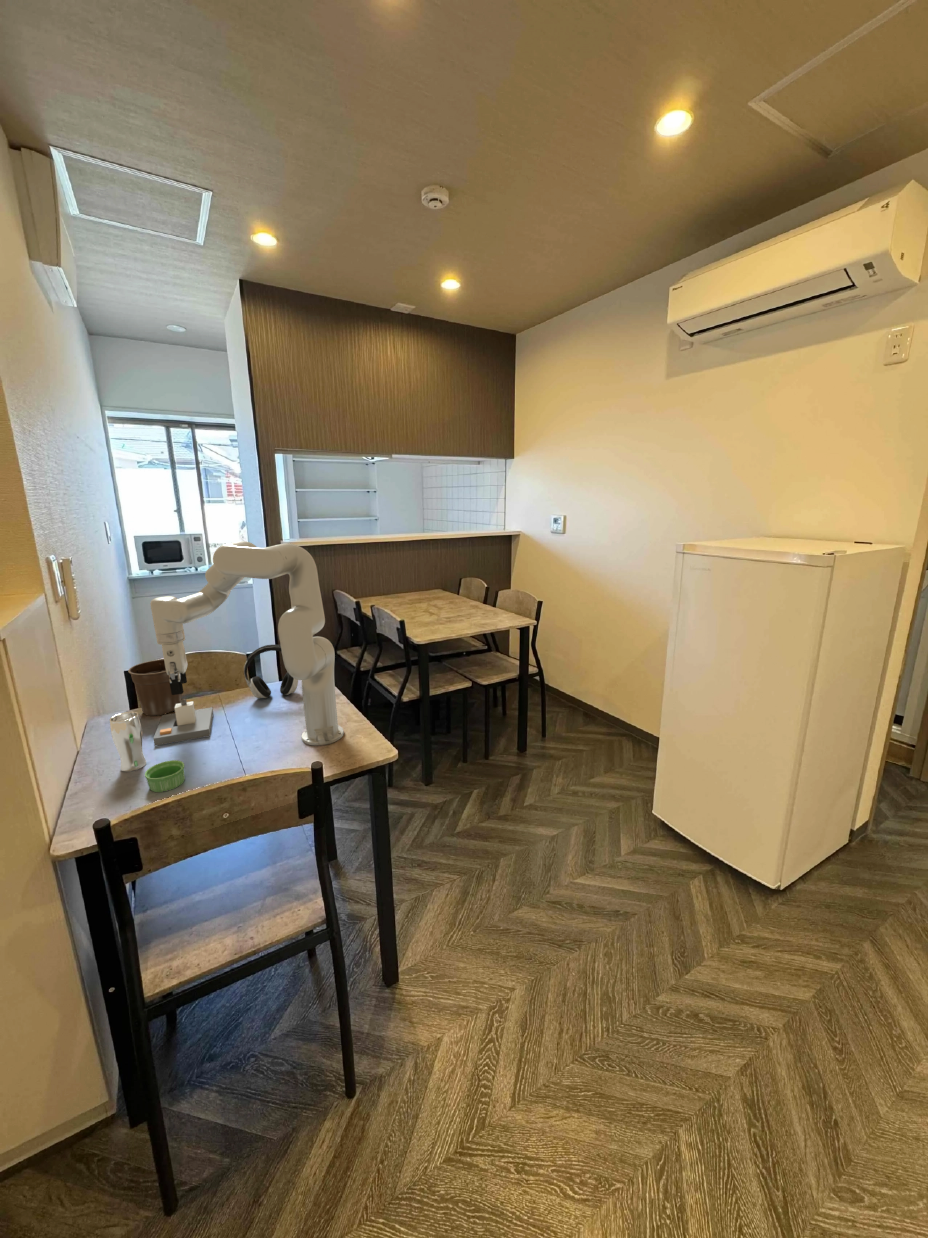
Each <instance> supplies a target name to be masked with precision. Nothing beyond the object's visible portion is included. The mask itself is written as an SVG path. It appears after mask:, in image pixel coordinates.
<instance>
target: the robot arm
mask: <svg viewBox="0 0 928 1238" xmlns="http://www.w3.org/2000/svg"><path fill="white" fill-rule="evenodd" d="M212 562H213V563H212V565H210V566H209V568H208V569H207V570H206V571H205V573H204V575H205V576H204V577H205V581H207V584H206V585H205V586H204V587H202V588H201V589H200V590H199V591H197V592H196V593H193V594H190V595H187V596H183V597H180V598H177V597H176V596H167V595H166V596H159V597H155V598H153V599H151V600H150V610H151V615H152V620H153V625H154V626H153V627H154V631H155V637H156V642H157V643H156V644H157V645H161V648H162V656H163V659H164V662H165V668H166V672H167V675H169V678H170V688H171V694H172V695H177V694H182V695H183V694H184V692H185V691H184V687H183V684H187V683H188V678H187V674H186V673H187V672H186V671H187V668H188V659H187V654H186V650H185V645H184V641H185V640H186V635H185V630H184V625H183V624H189V623H192V622H195V621H197V620H199V619H202V618H205V617H207V616H209V615H210V614H212V613H214V611H216V610H217V609H218V608H219V607H221V606H222V605H223V604H224V602H226V600H227V599H228V597H229V596H230V594H231V592H232V590H233V589H234V588H235V587H236V586H237V585H238V584H240V583H241V581H242V580H244V579H245V578H247V579H259V580H271V579H276V578H278V577H281V576H284V575H289V583H288V593H289V598H290V605H291V606H290V607H291V608H289V609H288V610H286V611H285V612H283V614H282V615H281V616H280V617H279V619H278V626H277V632H278V639H279V643H280V644H279V645H280V646H281V650H282V652H281V654H282V660H283V665H284V668H285V669H286V671H287V672H288V673H289V674H290V675H291V676H292V677H293V678H295V679H297V680H298V681H301V693H302V701H303V711H304V721H305V722H304V723H305V730H304V731H303V732H302V733H301V741H302V742H303V743H305V744H306V745H309V746H325V745H330V744H333V743H335V742H337V741H339V740H340V739H341V738H342V737H343V736H344V734H345V733H344V727H342V726H341V725H339V723H338V721H339V720H338V710H337V709H338V708H337V698H336V685H335V658H336V657H335V656H336V655H335V648H334V646H333V644H332V642H331V641H330V640H329V639H327V638H326V637H323V636H318V635H317V636H315V634H318V633H319V632H320V631H321V630H323V628H324V626H325V623H326V618H325V617H326V616H325V610H324V605H323V600H322V593H321V588H320V582H319V574H318V568H317V565H316V562H315V559H314V558H313V556H312V555H311V553H309V552H308V551H307V550H306V549H305V548H303V547H302V546H299V545H297V544H293V543H281V544H275V545H271V546H266V547H258V546H257V545H255V544H254V543H253V542H249V541H243V540H241V541H235V542H230V543H224V544H222V545H220V546H218V547H217V549H215V551H214V552H213V556H212ZM287 672H286V673H287Z"/></svg>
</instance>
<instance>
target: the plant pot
mask: <svg viewBox="0 0 928 1238" xmlns="http://www.w3.org/2000/svg"><path fill="white" fill-rule="evenodd" d="M127 672H128V673H129V674H130V675H131V680H132V682H133V683H134V687H135V689H136V693H137V697H138V701H139V704H140V707H141V708H140V709H141V712H142V714H144V715H146V716H150V717H151V716H153V717H155V716H156V715H158V716H162V714H164V715H166V714H165V713H168V714H170V713H171V712H173V711H174V712H175V705H176V704H179V703H181V700H182V699H183V694H177V695H172V694H171V688H170V678H169V675H167V672H166V668H165V662H164V658H163V659H154V660H149V661H144V662H141V663H138V664H134V665H132V666H131V667H129V669H128V671H127Z"/></svg>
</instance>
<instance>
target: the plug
mask: <svg viewBox="0 0 928 1238" xmlns="http://www.w3.org/2000/svg"><path fill="white" fill-rule="evenodd" d="M195 710H196V708H195V703H194V701H187V698H182V700H181V703H179V704H176V705H175V711H174V713H175V714H176V720H177V725H178V726H180V725H186V724H192V723H195V721H196V714H195Z"/></svg>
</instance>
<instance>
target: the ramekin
mask: <svg viewBox="0 0 928 1238" xmlns="http://www.w3.org/2000/svg"><path fill="white" fill-rule="evenodd" d="M144 777H145V779H146V781H147V785H148V788H149V790H151V792H154V793H164V792H163V791H165V792H168V791H167V790H169V791H171V789H172V790H174V789H176V788H179V786H181V785H182V784H183V783H184V782H185V779H186V777H185V763H184V761H181V760H175V759H174V760H173V759H172V760H166V761H161V762H159V763H156V764H154V765H153V766H151V767H149V768H147V770H146V771H145V773H144Z"/></svg>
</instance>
